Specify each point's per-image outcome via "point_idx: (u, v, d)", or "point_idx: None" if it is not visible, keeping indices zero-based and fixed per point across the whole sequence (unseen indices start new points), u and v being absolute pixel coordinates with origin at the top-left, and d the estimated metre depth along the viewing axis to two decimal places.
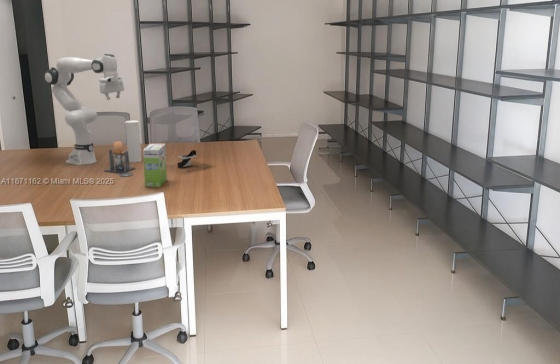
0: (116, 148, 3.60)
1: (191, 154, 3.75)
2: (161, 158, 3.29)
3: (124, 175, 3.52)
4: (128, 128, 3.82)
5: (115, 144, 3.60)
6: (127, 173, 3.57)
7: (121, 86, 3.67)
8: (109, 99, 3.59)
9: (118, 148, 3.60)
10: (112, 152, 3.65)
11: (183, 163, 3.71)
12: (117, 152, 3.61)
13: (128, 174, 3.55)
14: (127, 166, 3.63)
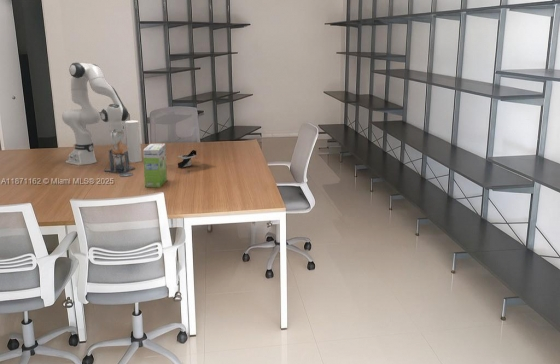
0: None
1: (191, 154, 3.75)
2: (161, 158, 3.29)
3: (124, 175, 3.52)
4: (128, 128, 3.82)
5: None
6: (127, 173, 3.57)
7: None
8: None
9: (118, 148, 3.60)
10: (112, 152, 3.65)
11: (183, 163, 3.71)
12: (117, 152, 3.61)
13: (128, 174, 3.55)
14: (127, 166, 3.63)
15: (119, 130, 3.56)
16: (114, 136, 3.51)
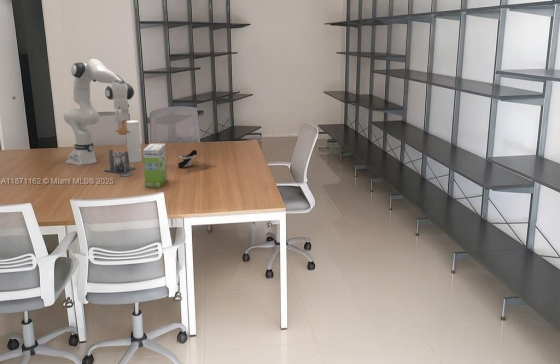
0: None
1: (192, 154, 3.75)
2: (161, 158, 3.29)
3: (124, 175, 3.52)
4: (128, 128, 3.82)
5: None
6: (127, 173, 3.57)
7: None
8: None
9: (123, 126, 3.46)
10: (116, 131, 3.50)
11: (184, 163, 3.71)
12: (122, 131, 3.46)
13: (128, 174, 3.55)
14: (127, 166, 3.63)
15: (124, 107, 3.42)
16: (119, 113, 3.37)
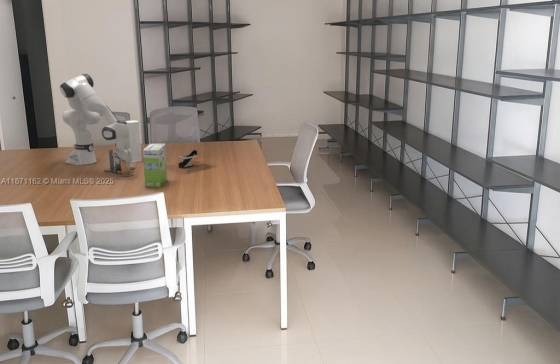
0: (126, 167, 3.52)
1: (192, 154, 3.75)
2: (161, 158, 3.29)
3: (124, 175, 3.52)
4: None
5: (125, 163, 3.51)
6: None
7: (125, 156, 3.45)
8: None
9: (128, 167, 3.53)
10: (118, 172, 3.54)
11: (184, 163, 3.71)
12: (127, 172, 3.53)
13: None
14: None
15: (129, 146, 3.49)
16: (130, 153, 3.44)
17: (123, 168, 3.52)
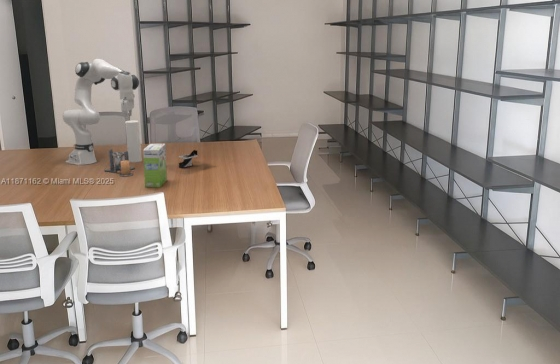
0: (126, 167, 3.52)
1: (192, 154, 3.75)
2: (161, 158, 3.29)
3: (124, 175, 3.52)
4: (128, 128, 3.82)
5: (125, 163, 3.51)
6: None
7: None
8: None
9: (128, 167, 3.53)
10: (118, 172, 3.54)
11: (184, 163, 3.71)
12: (127, 172, 3.53)
13: None
14: None
15: (130, 98, 3.51)
16: (125, 103, 3.45)
17: (123, 168, 3.52)
